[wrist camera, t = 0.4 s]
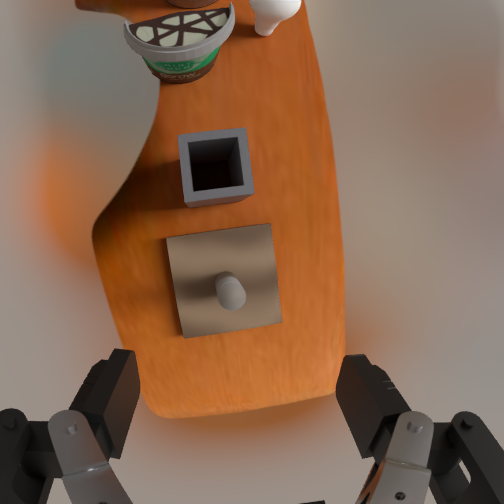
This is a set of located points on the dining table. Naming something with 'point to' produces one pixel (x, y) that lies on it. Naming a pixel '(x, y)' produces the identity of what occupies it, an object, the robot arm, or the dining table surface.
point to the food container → (181, 42)
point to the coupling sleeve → (215, 149)
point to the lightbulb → (272, 13)
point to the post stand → (225, 280)
